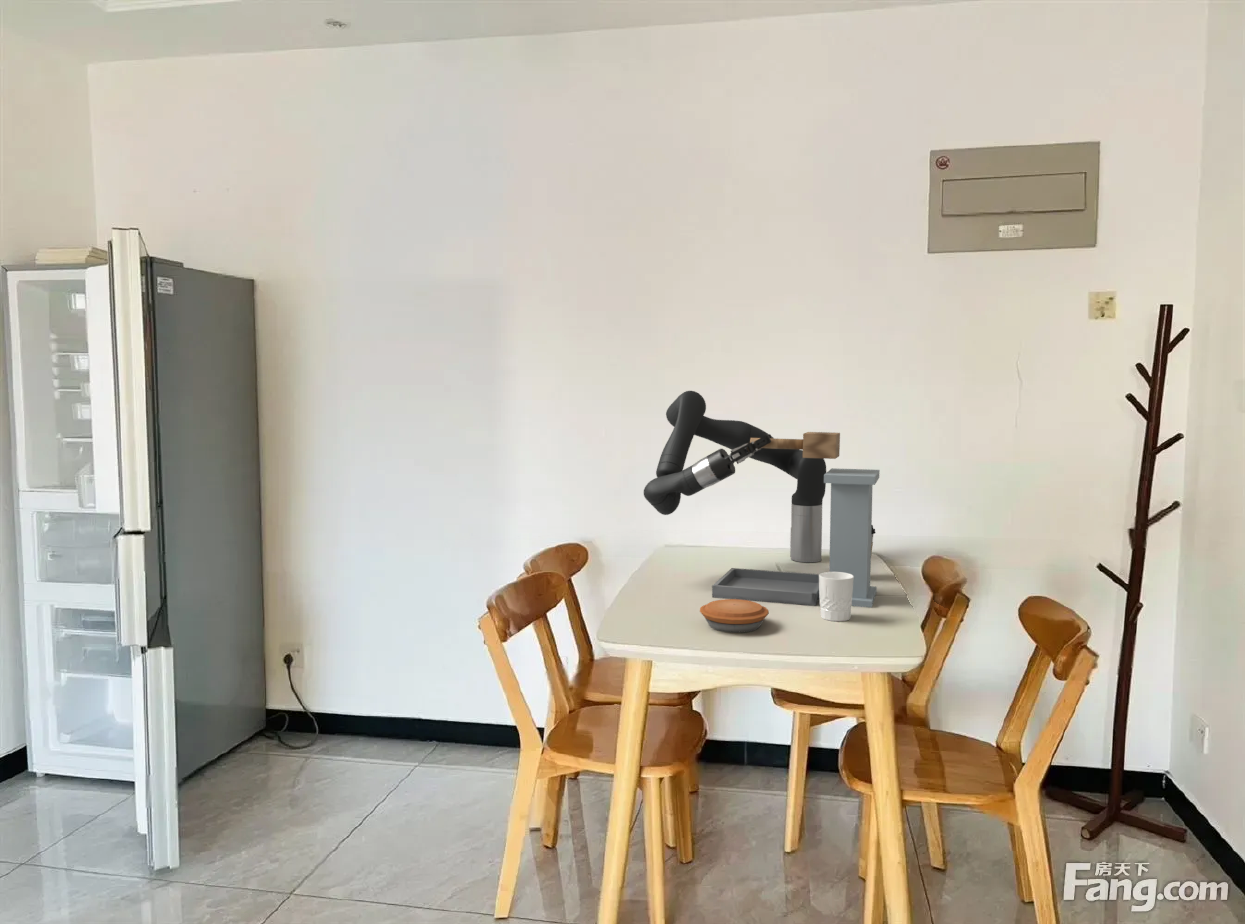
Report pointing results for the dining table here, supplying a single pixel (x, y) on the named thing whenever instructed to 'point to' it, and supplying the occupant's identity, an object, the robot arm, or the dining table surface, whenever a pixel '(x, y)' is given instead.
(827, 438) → the mallet
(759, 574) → the tray
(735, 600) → the pie
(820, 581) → the white cup
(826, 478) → the pedestal
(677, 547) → the dining table surface
